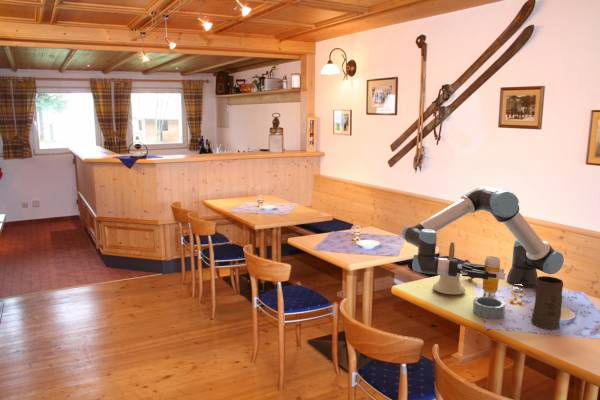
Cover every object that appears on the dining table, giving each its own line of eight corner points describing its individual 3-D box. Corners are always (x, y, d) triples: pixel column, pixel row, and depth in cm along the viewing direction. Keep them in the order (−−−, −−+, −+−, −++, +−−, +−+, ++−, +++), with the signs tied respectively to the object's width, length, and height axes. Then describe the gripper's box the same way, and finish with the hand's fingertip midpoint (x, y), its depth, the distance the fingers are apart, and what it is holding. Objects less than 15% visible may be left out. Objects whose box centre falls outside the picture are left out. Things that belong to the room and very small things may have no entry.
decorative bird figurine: (464, 275, 265) (466, 257, 263) (485, 287, 248) (487, 268, 247) (460, 276, 264) (461, 258, 263) (480, 287, 248) (482, 268, 246)
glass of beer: (479, 288, 218) (482, 255, 215) (493, 288, 218) (496, 255, 215) (486, 293, 212) (489, 260, 209) (499, 293, 212) (503, 260, 209)
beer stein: (566, 329, 201) (570, 282, 199) (542, 331, 199) (546, 282, 197) (542, 316, 216) (545, 272, 214) (520, 317, 215) (522, 273, 212)
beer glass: (498, 302, 229) (501, 271, 226) (482, 301, 230) (485, 270, 227) (495, 297, 236) (498, 266, 233) (480, 295, 237) (482, 265, 234)
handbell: (432, 284, 251) (436, 236, 246) (464, 288, 247) (468, 239, 242) (432, 295, 236) (435, 244, 232) (465, 299, 232) (470, 247, 228)
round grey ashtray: (487, 305, 225) (488, 295, 224) (509, 316, 214) (510, 305, 213) (467, 309, 220) (468, 299, 219) (488, 320, 209) (489, 309, 208)
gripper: (448, 269, 229) (502, 275, 221) (446, 282, 211) (504, 289, 203) (450, 253, 227) (504, 259, 220) (447, 265, 210) (506, 272, 202)
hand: (504, 274), depth 212 cm, fingers closed on glass of beer, 6 cm apart
